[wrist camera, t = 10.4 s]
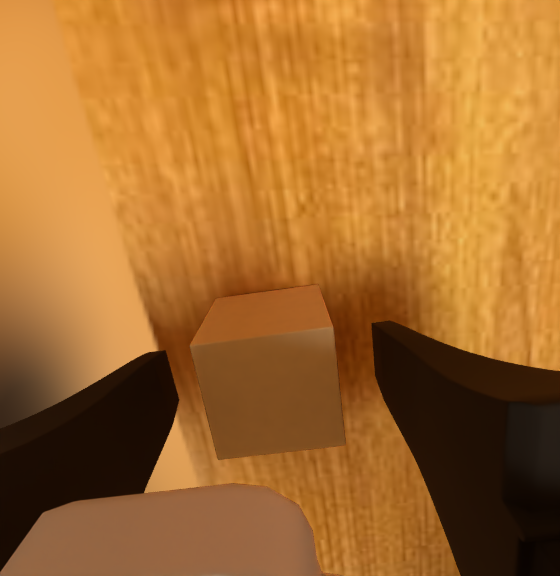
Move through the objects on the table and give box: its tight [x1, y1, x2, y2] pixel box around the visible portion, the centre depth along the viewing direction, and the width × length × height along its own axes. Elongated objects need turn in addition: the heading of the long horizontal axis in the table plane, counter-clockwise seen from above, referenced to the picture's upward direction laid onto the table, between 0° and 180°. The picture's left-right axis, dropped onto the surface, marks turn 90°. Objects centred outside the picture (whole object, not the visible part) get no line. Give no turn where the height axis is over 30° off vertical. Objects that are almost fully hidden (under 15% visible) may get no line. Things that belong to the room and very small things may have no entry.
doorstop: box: [190, 285, 346, 460], centre depth 12 cm, size 4×4×4 cm
